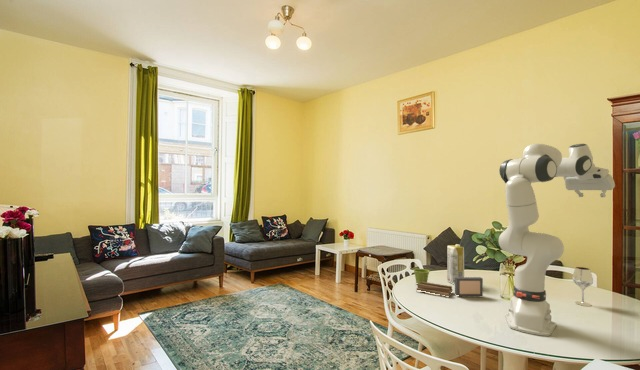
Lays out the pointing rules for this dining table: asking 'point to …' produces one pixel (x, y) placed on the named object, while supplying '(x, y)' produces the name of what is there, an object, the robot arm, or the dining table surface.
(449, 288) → the picture ledge
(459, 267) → the juice carton
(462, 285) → the picture frame
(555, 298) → the dining table surface
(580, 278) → the wineglass
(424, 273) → the plant pot
